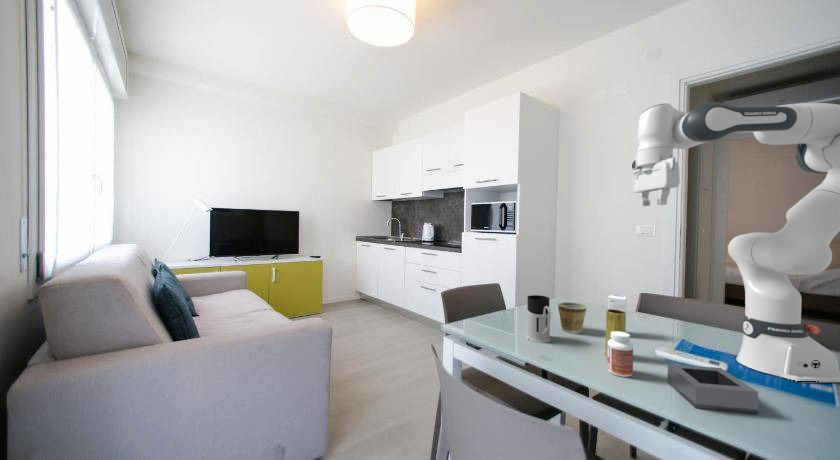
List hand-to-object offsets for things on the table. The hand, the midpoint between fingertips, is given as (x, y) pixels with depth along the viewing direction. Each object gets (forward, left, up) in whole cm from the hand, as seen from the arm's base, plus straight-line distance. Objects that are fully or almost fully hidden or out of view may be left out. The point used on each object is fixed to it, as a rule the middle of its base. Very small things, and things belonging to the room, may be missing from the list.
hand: (653, 205), depth 100 cm
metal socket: (-3, +22, -47) cm, 52 cm away
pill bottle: (+13, +12, -48) cm, 51 cm away
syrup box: (+2, -22, -48) cm, 53 cm away
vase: (+10, 0, -48) cm, 49 cm away
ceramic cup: (+18, -24, -48) cm, 56 cm away
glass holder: (+31, -9, -48) cm, 58 cm away
